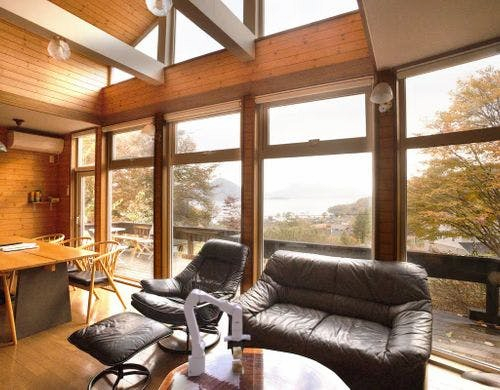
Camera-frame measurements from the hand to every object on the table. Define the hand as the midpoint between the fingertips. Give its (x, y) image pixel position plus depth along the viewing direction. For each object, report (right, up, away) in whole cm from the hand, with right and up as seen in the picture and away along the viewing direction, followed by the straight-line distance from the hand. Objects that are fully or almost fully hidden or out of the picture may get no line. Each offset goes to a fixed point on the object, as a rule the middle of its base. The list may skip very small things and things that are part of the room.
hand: (237, 353), depth 165 cm
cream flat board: (+1, -10, +1) cm, 10 cm away
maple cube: (0, -2, 0) cm, 2 cm away
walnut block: (0, -9, 0) cm, 9 cm away
